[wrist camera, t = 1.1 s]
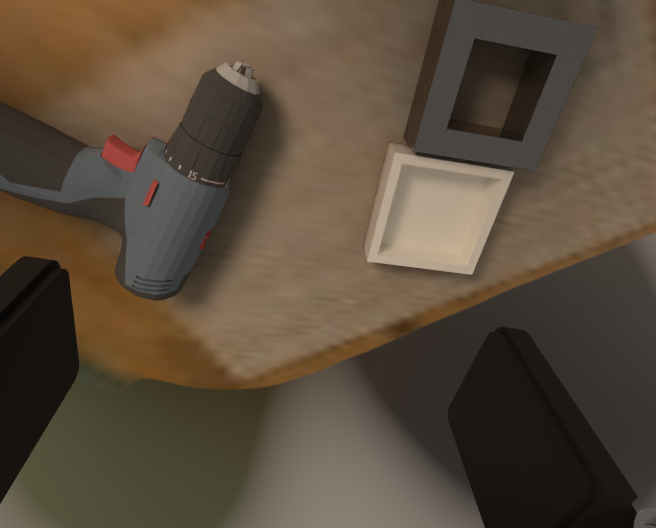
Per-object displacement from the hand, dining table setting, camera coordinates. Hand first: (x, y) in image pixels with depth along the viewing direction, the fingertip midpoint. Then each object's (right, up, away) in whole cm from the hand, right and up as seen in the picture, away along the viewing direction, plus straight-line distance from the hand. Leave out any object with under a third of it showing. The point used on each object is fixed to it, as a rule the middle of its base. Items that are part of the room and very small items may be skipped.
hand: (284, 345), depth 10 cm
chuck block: (+12, +15, +20) cm, 28 cm away
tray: (+9, +7, +25) cm, 28 cm away
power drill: (-15, +12, +21) cm, 29 cm away
